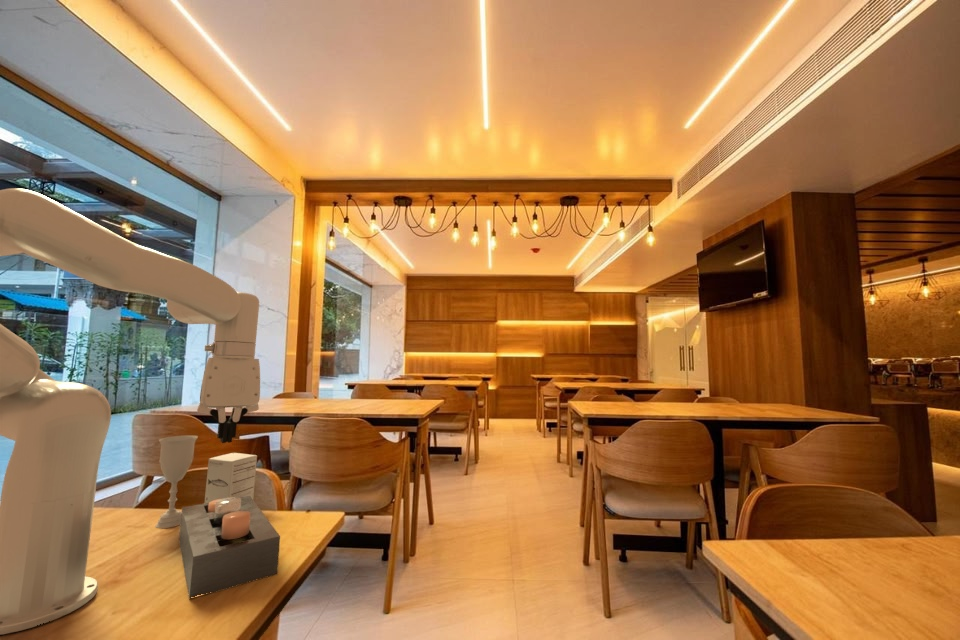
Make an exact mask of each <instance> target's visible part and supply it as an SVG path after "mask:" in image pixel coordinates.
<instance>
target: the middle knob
mask: <svg viewBox="0 0 960 640" xmlns="http://www.w3.org/2000/svg"><path fill="white" fill-rule="evenodd" d="M240 507H241V498H238V497H230V498H224V499H220V500H218V501H216V505H215V517H214V521H216V522H222V521H223V516H224V515H226V514H229V513H232V512H237V511H240Z"/></svg>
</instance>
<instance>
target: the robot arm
mask: <svg viewBox="0 0 960 640" xmlns="http://www.w3.org/2000/svg"><path fill="white" fill-rule="evenodd" d="M18 254H25V255H28V256H30V257H32V258H34V259H36V260H39V261H41V262H44V263H47V264H48V265H51V266H53V267H56V268H59V269H61V270H62V271H65V272H67V273H69V274H72V275H75V276H77V277H79V278H81V279H84V280H86V281H88V282H90V283H93V284H95V285H97V286H99V287H102V288H105V289H110V290H111V289H112V290H116V291H119V292H125V293H136V294H142V295H148V296H151V297H156V298H158V299H159V298H160V299H163V300H166V308H167V312H168V313H169V315H170V316H171V317H172V318H173V319H175V320H176V321H178V322H180V323H184V324H189V325H205V324H206V325H210V324H211V325H215V329H214V339H213V340H214V341H213V343H210V344H204V352H208V353H211V355H212V357H208V359H207V362H206V365H205V368H204V372H203V375H202V381H201V386H200V393H199V404H198V407H197V409H196V412H197V413H199V414H201V415H202V414H203V415H207V416H212V417H213V418H214V419H215V420H216V421H218V424H217V434H216V435H217V437H216V438H217V439H218V440H219V441H220V442H221V443H222V444H225V443H232V442H233V438H236V435H237V434H236V433H237V424H238V422H239V421H240V420H241V418H242V417H244V416H245V415H247V414H249V413H252V412H256V411H257V412H258V410H259V408H260V407H259V402H260V399H261V398H260V397H261V366H260V359H259V358H255V357H256V356H255V355H256V344H257V334H258V332H257V331H258V324H259V323H258V321H259V320H258V319H259V311H260V300H259V298H258V297H257V296H256V295H255V294H252V293H248V292H247V293H246V292H242V291H241V292H240V291H237V290H236V289H235V288H234V287H232V286H231V285H230V284H229V283H227V282H226V281H224V280H223V279H221V278H219V277H218V276H216V275H214V274H212V273H210V272H208V271H207V270H205V269H203V268H201V267H199V266H196V265H194V264H192V263H190V262H187V261H184V260H181V259H179V258H177V257H174V256H170V255H167V254H165V253H162V252H159V251H157V250H154V249H152V248H149V247H145V246H142V245H139V244H137V243H135V242H132V241H131V240H128V239H126V238H124V237H122V236H120V235H119V234H117V233H115V232H113V231H111V230H109V229H108V228H106V227H104V226H102V225H100V224H98V223H96V222H94V221H93V220H91V219H89V218H87V217H85V216H84V215H82V214H80V213H78V212H76V211H74V210H72V209H70V208H69V207H67V206H64V205H63V204H61V203H59V202H58V201H55V200H54V199H51V198H50V197H47V196H46V195H43V194H41V193H39V192H37V191H33V190H29V189H25V188H16V187H15V188H14V187H13V188H5V189H0V257H6V256H12V255H18ZM40 368H41V361H40V357H39V355H38V353H37V351H36V350H35V348H34V347H33V346H31V344H29V342H27V341H26V340H25V339H23V338H22V337H20V336H18V335H17V334H15V333H14V332H13V331H11V330H10V329H8V328H7V327H6V326H4V325H3V324H2V323H0V436H2V437H3V438H6V439H9V440H11V441H14V445H13V448H12V452H11V455H10V457H9V460H8V463H7V466H6V468H5V469H6V470H5V474H4V477H3V482H2V488H1V492H0V493H1V494H0V635H7V634H12V633H16V632H20V631H21V632H22V631H25V630H27V629H31V628H32V629H33V628H35V627H38V626H41V625H44V624H47V623H50V622H53V621H55V620H57V619H60V618H62V617H64V616H66V615H69V614H70V613H72V612H74V611H76V610H78V609H80V608H81V607H82V606H84V605H86V604H87V603H89V602H90V600H92V599H93V598H94V597H95V596H96V594H97V592H98V586H99V583H98V581H97V579H95V578H93V577H90V576H86V573H87V571H86V570H87V563H88V555H89V547H90V541H91V533H92V532H91V531H92V524H93V523H92V522H93V515H94V507H95V498H96V491H97V481H98V480H97V479H98V471H99V466H100V460H101V454H102V450H103V447H104V445H105V441H106V438H107V435H108V432H109V428H110V425H111V419H112V411H111V405H110V402H109V401H108V399H107V398H106V396H105V395H104V394H103V393H102V392H101V390H100V391H99V390H98V389H96V388H95V387H92V386H90V385H87V384H85V383H79V382H73V381H61V380H60V381H57V380H56V379H54V378H53V377H51V376H50V375H49V374H47V373H46V372H44V371H43V370H42V369H40ZM226 408H232V410H231V414H230V417H229V418H228V419H227V418H226ZM49 621H50V622H49ZM43 623H44V624H43ZM40 624H41V625H40ZM37 625H38V626H37Z"/></svg>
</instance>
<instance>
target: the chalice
mask: <svg viewBox="0 0 960 640" xmlns="http://www.w3.org/2000/svg"><path fill="white" fill-rule="evenodd" d="M198 437H199V436H198V435H187V434H186V435H176V436H175V435H174V436H168V437H163V438H160V439H158V441H159V443H160V453H159V461H158V462H159V467H160V469H161V473H162V474H163V477H164V478H165V481H166V482H168V483H170V484H171V486H170V489H169V491H168V493H169V494H170V497H169V499H167V502H168V504H169V506H168V509H167V510H166V511H164V512H163V513H162V514H161V515H160V516H159V517H160V518H159V519H158V520H157V523H156V524H155V528H156V529H166V528H167V529H168V528H173V527H176V526H177V527H178V526H180V522H181V512H182V511H181V510H178V509H176V506H175V504H176V502H177V501H178V498H177V495H176V494H177V492H178V491H179V490H178V486H177V485H178V482H179V481H181V480H183V479H184V477H185V476H186V474H187V473H188V471H189V468H190V467H191V465H192V463H193V460H194V453H195V445H196V441H197V439H198Z"/></svg>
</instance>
